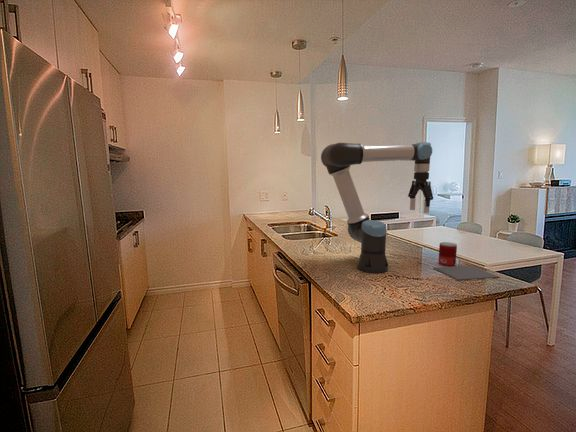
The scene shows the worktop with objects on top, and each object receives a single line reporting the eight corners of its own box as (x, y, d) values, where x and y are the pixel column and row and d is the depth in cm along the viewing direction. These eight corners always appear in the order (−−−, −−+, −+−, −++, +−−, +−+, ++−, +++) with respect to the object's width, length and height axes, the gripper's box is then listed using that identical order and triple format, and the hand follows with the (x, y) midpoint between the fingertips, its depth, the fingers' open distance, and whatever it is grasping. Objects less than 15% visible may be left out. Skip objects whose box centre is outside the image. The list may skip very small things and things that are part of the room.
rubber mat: (457, 280, 142) (458, 279, 142) (433, 268, 159) (433, 267, 159) (499, 278, 145) (499, 276, 145) (470, 266, 163) (470, 265, 163)
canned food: (457, 267, 162) (459, 245, 160) (440, 266, 164) (441, 245, 162) (452, 262, 169) (454, 242, 168) (436, 262, 171) (438, 241, 169)
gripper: (442, 172, 161) (439, 214, 164) (415, 172, 185) (412, 208, 188) (429, 171, 160) (426, 214, 162) (403, 171, 184) (401, 208, 187)
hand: (419, 211), depth 175 cm, fingers open, 13 cm apart
